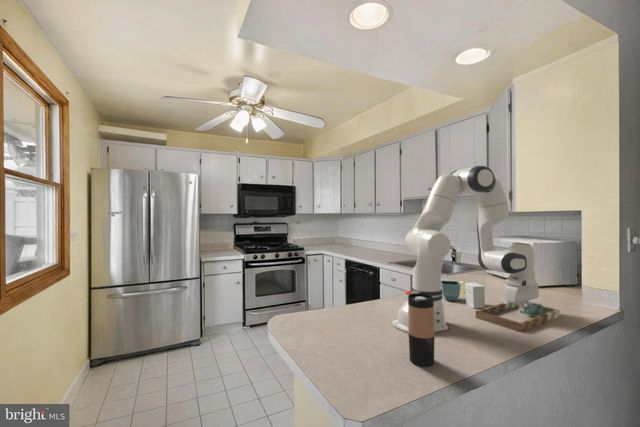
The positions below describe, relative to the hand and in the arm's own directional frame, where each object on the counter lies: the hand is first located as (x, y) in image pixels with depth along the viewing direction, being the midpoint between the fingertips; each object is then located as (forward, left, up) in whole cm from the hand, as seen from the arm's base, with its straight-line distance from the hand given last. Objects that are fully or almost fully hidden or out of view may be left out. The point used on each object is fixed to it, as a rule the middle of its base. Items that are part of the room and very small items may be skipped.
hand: (523, 310), depth 129 cm
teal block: (+5, -1, -2) cm, 6 cm away
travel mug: (-70, -5, -2) cm, 70 cm away
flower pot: (-7, +32, -2) cm, 33 cm away
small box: (-6, +19, -2) cm, 20 cm away
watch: (+12, +38, -2) cm, 40 cm away
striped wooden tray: (-5, 0, -2) cm, 5 cm away
